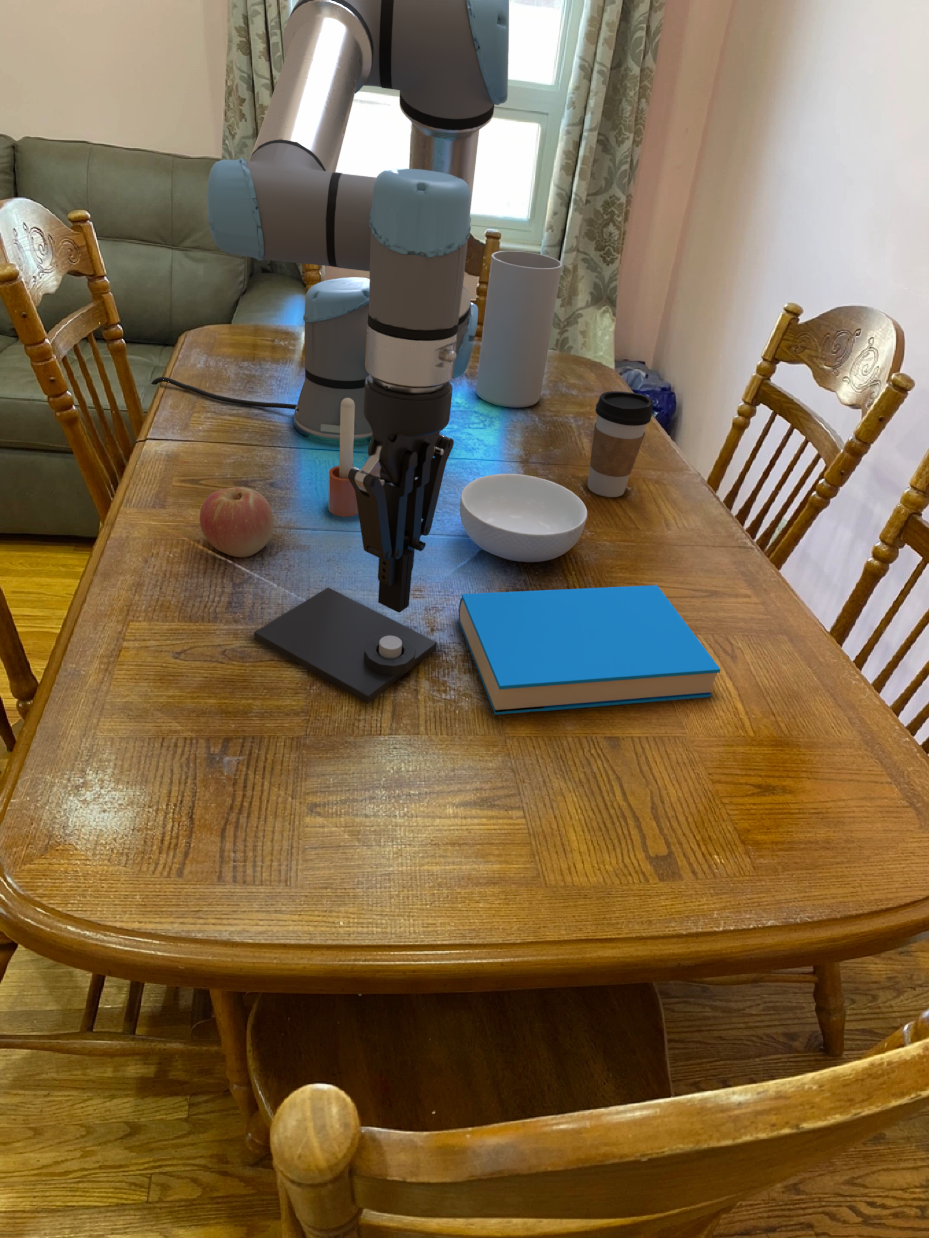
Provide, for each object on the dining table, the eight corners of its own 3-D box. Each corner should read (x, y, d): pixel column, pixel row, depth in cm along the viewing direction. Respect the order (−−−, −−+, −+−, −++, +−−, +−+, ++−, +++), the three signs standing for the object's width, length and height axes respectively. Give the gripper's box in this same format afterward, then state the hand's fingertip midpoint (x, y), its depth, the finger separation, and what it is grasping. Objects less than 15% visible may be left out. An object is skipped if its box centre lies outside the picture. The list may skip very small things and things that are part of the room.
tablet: (254, 640, 90) (253, 621, 88) (328, 594, 98) (328, 577, 97) (372, 707, 83) (373, 688, 82) (441, 652, 92) (443, 634, 90)
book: (722, 669, 88) (501, 685, 81) (710, 699, 91) (495, 717, 84) (655, 581, 101) (459, 588, 95) (646, 609, 104) (455, 618, 97)
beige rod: (335, 508, 115) (337, 398, 105) (344, 504, 116) (347, 394, 107) (345, 513, 114) (348, 402, 105) (354, 508, 115) (357, 398, 106)
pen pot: (321, 511, 114) (321, 472, 111) (343, 500, 118) (344, 462, 114) (346, 523, 113) (347, 483, 109) (368, 511, 116) (370, 473, 112)
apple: (239, 575, 100) (236, 517, 95) (187, 550, 103) (181, 492, 98) (288, 548, 106) (287, 492, 101) (237, 524, 109) (234, 469, 105)
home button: (374, 652, 87) (374, 642, 86) (388, 642, 89) (388, 632, 88) (392, 662, 86) (392, 652, 85) (405, 651, 88) (406, 641, 87)
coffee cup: (631, 505, 127) (655, 412, 118) (577, 495, 127) (596, 402, 119) (633, 482, 133) (655, 393, 125) (581, 472, 134) (600, 383, 125)
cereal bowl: (492, 590, 103) (499, 542, 99) (434, 527, 114) (439, 481, 110) (602, 568, 110) (613, 522, 106) (537, 510, 122) (545, 467, 118)
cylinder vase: (550, 397, 161) (574, 262, 146) (519, 414, 152) (541, 272, 137) (496, 380, 166) (513, 248, 151) (463, 395, 157) (478, 256, 142)
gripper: (396, 410, 64) (381, 649, 77) (487, 372, 73) (460, 591, 87) (323, 383, 67) (321, 617, 80) (420, 350, 76) (403, 565, 90)
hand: (393, 604), depth 84 cm, fingers closed
